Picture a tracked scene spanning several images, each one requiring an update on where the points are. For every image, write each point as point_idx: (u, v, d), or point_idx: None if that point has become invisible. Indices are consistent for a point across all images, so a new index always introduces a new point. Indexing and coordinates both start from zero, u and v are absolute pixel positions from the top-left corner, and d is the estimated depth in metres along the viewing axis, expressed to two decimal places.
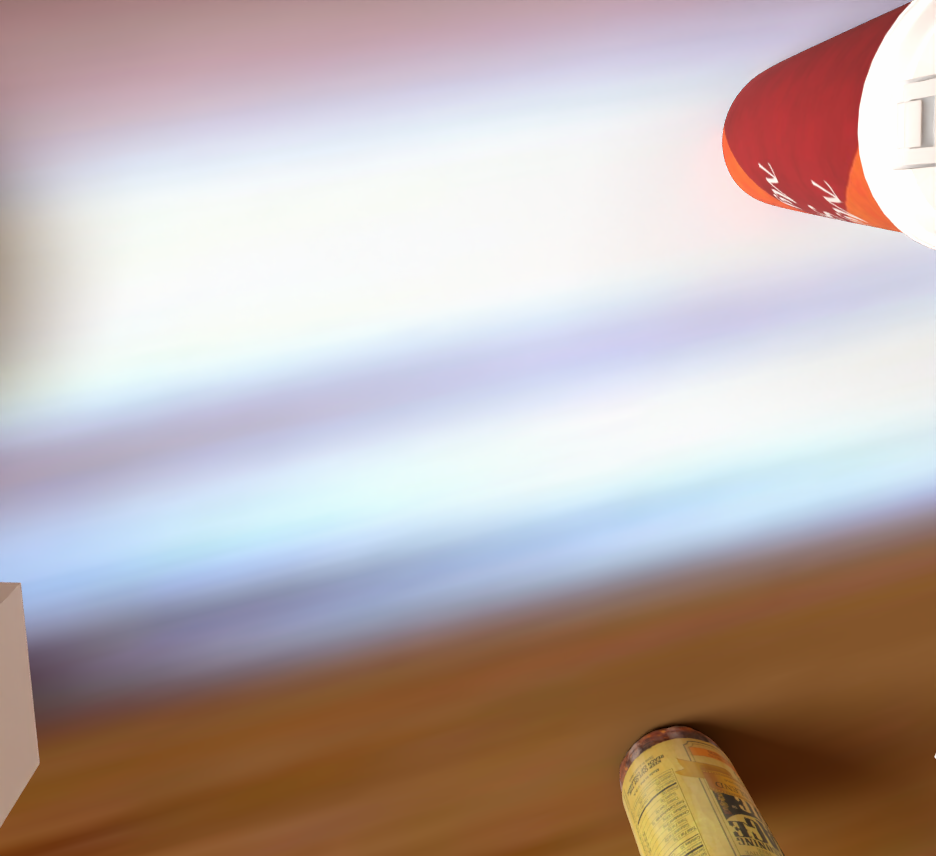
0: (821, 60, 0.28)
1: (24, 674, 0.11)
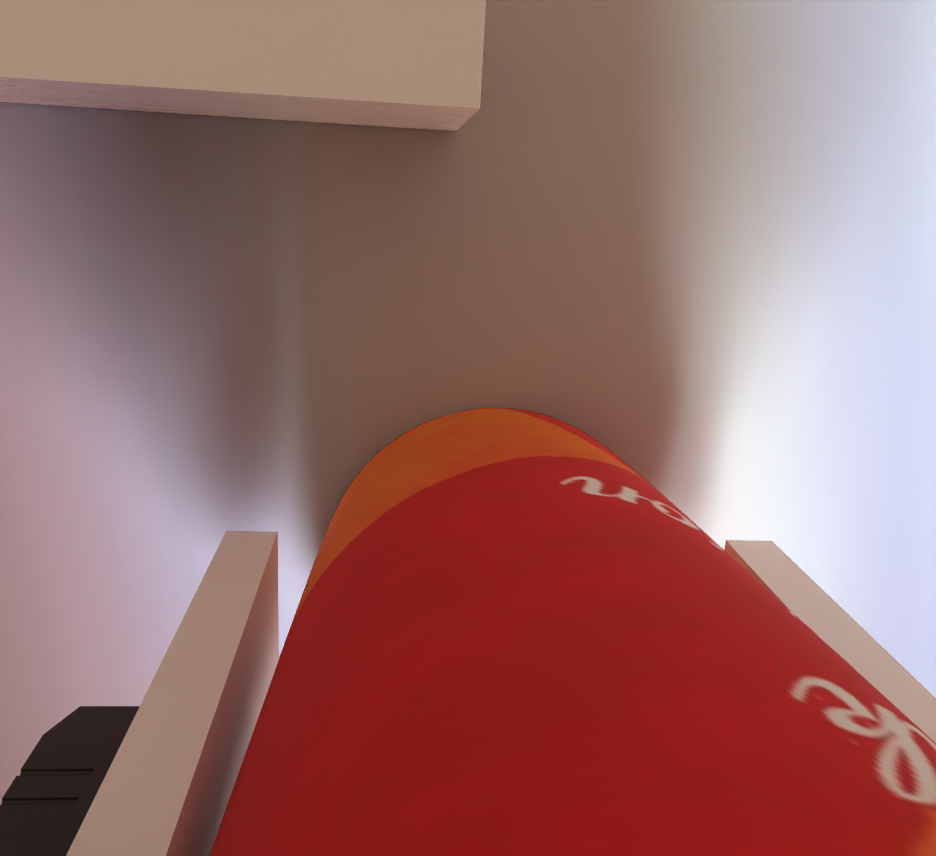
0: None
1: (277, 610, 0.13)
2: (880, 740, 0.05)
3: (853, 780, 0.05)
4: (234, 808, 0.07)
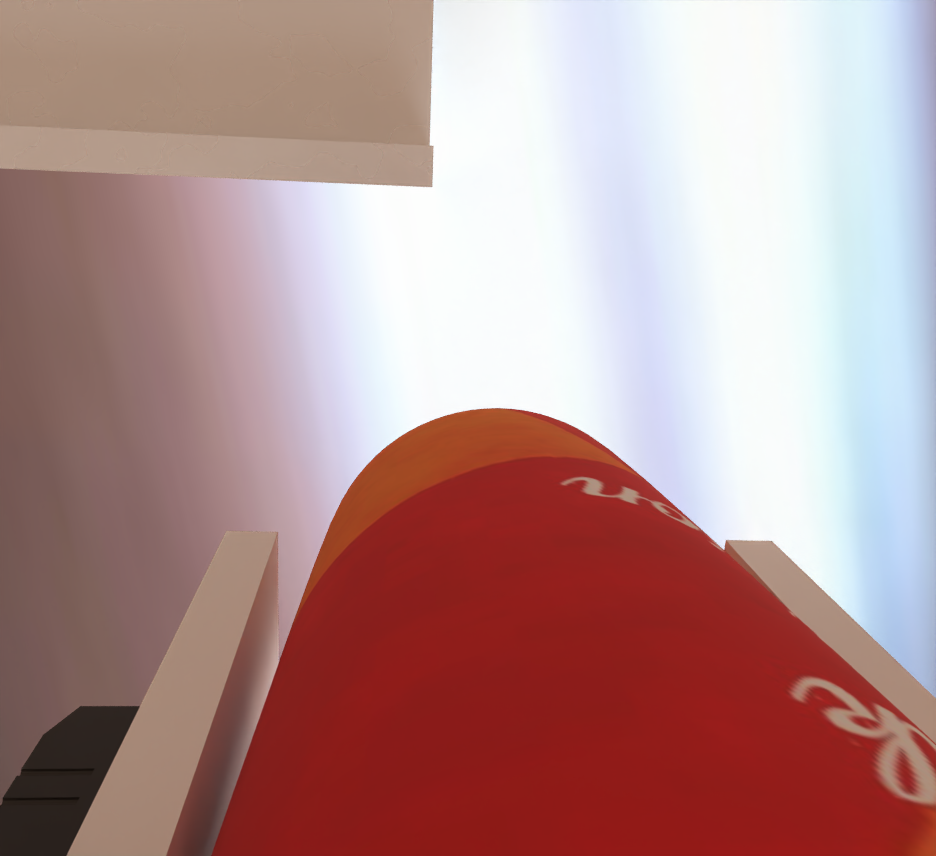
0: None
1: (277, 610, 0.13)
2: (879, 739, 0.05)
3: (853, 782, 0.05)
4: (236, 808, 0.07)
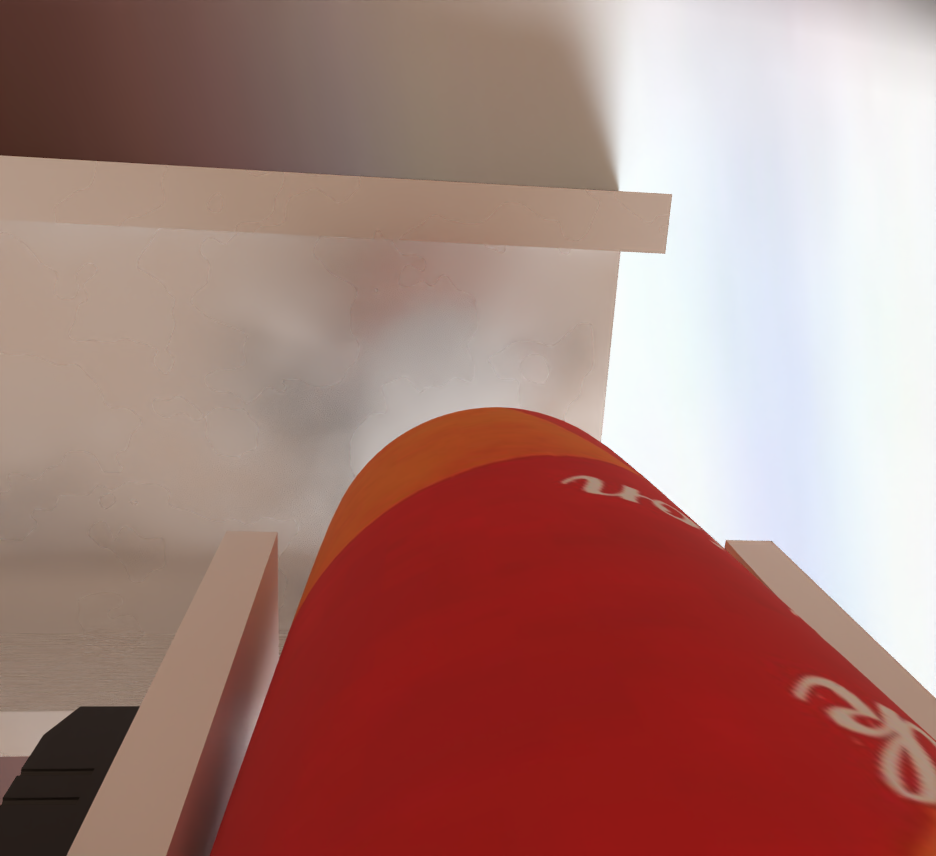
0: None
1: (277, 610, 0.13)
2: (882, 738, 0.05)
3: (856, 781, 0.05)
4: (234, 808, 0.07)
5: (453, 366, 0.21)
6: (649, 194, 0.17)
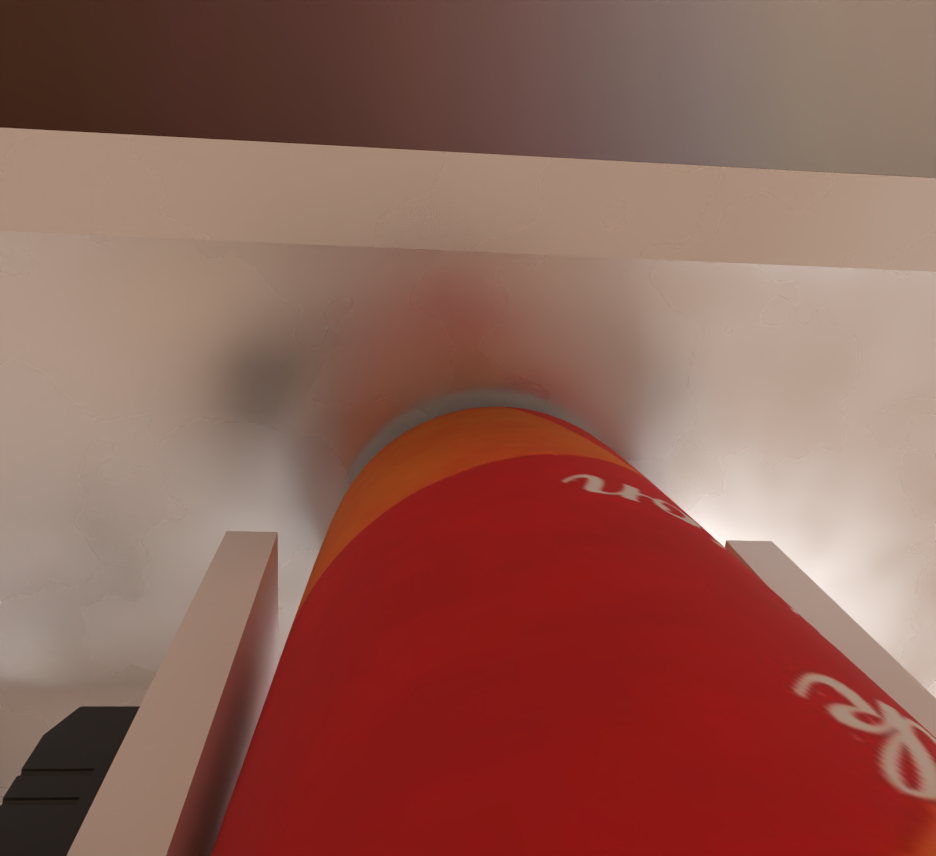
0: None
1: (277, 610, 0.13)
2: (884, 735, 0.05)
3: (856, 776, 0.05)
4: (237, 805, 0.07)
5: (819, 432, 0.16)
6: None
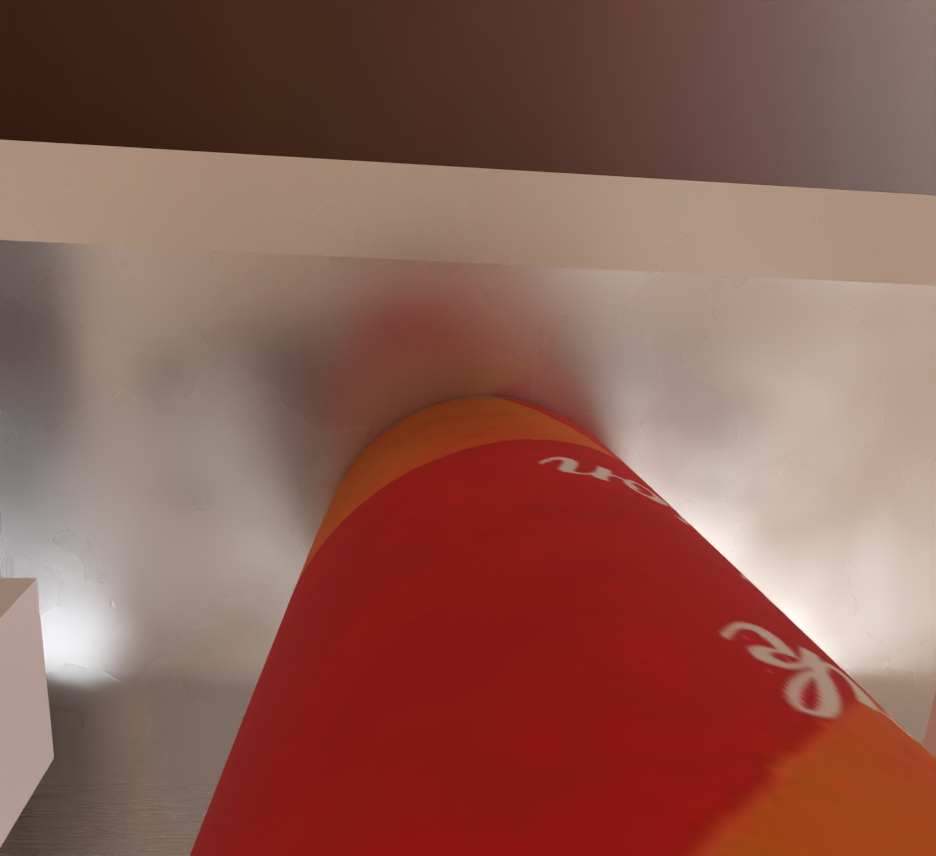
0: None
1: (40, 669, 0.11)
2: (795, 670, 0.06)
3: (760, 697, 0.05)
4: (238, 743, 0.08)
5: None
6: None
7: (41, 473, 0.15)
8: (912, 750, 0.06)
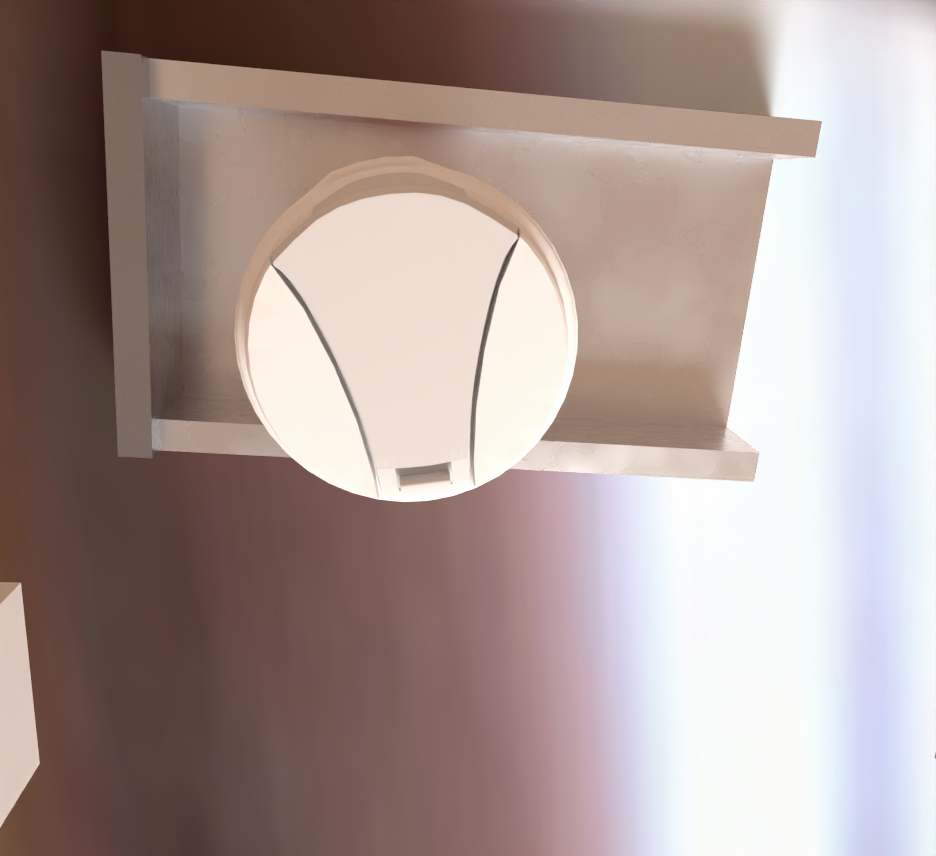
0: None
1: (24, 674, 0.11)
2: None
3: None
4: None
5: (660, 237, 0.33)
6: (808, 120, 0.29)
7: (201, 229, 0.32)
8: None
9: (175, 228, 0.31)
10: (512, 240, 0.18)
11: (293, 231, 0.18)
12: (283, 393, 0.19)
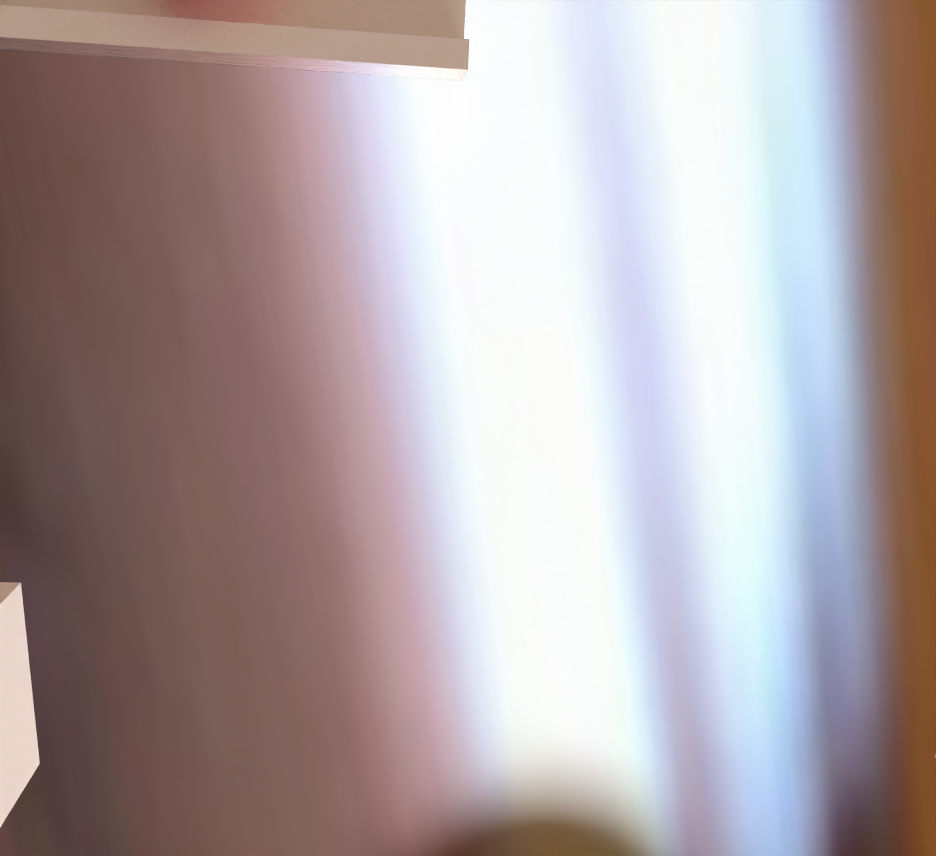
0: None
1: (24, 674, 0.11)
2: None
3: None
4: None
5: None
6: None
7: None
8: None
9: None
10: None
11: None
12: None
